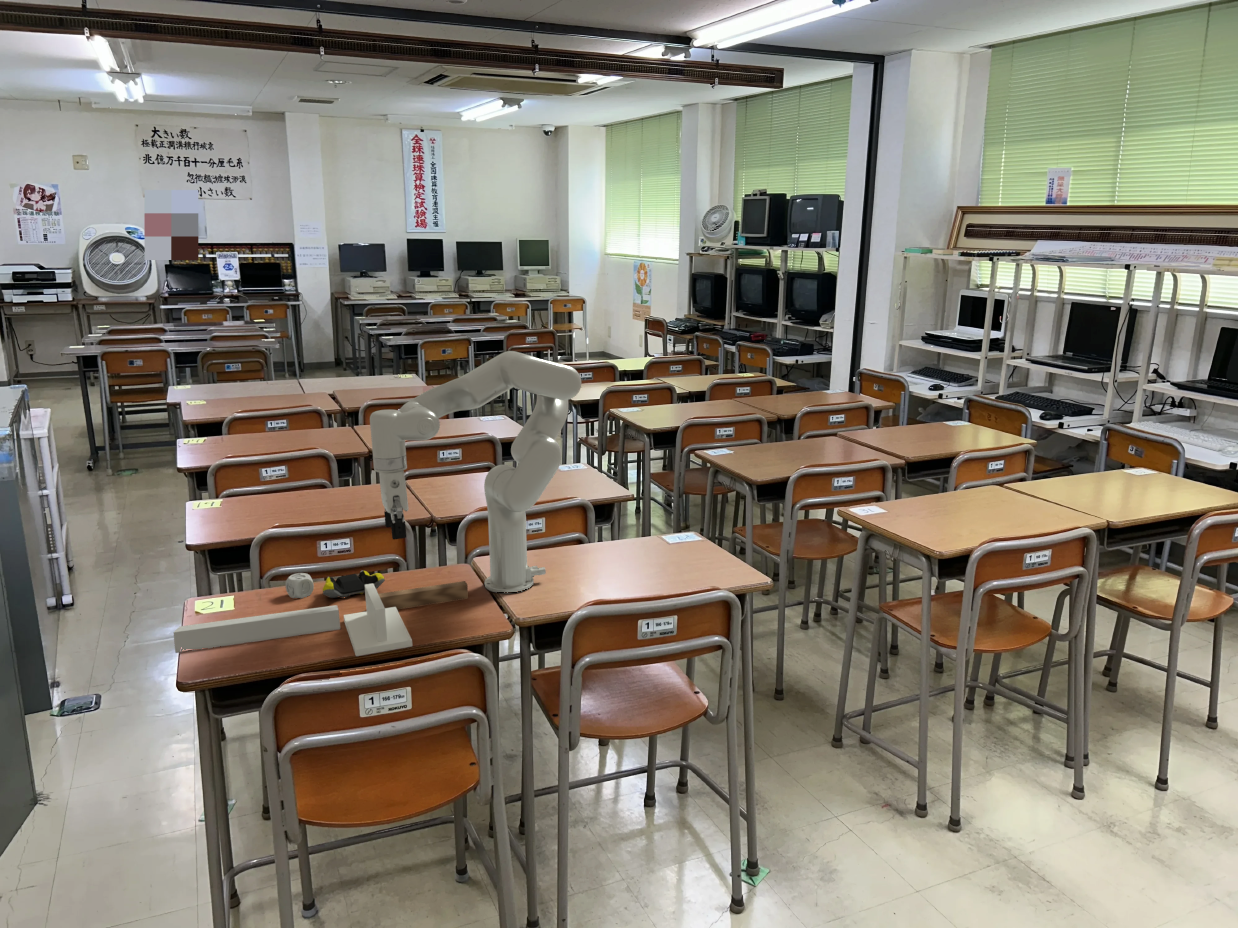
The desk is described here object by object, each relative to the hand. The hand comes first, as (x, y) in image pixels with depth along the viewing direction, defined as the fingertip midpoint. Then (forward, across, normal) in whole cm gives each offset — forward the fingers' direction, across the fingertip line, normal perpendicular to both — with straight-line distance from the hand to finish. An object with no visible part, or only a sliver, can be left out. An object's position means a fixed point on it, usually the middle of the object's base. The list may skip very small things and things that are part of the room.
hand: (395, 532), depth 210 cm
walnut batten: (+19, -1, -4) cm, 20 cm away
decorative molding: (+19, -2, +32) cm, 37 cm away
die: (+19, +17, +22) cm, 34 cm away
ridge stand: (+19, -14, +8) cm, 24 cm away
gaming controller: (+19, +13, +10) cm, 25 cm away
